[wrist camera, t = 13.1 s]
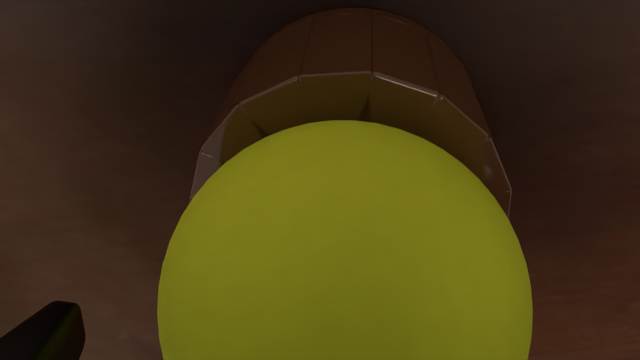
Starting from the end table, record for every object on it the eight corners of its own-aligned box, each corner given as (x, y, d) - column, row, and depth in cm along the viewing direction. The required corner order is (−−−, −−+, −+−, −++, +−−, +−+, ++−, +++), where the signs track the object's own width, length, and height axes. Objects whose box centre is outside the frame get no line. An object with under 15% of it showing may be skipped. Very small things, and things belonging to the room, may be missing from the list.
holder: (487, -3, 14) (529, 62, 10) (470, 223, 18) (495, 328, 14) (209, 16, 15) (154, 83, 11) (252, 228, 19) (223, 329, 15)
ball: (450, 156, 15) (573, 45, 8) (483, 426, 14) (663, 569, 7) (193, 172, 15) (96, 74, 8) (202, 450, 13) (94, 627, 6)
